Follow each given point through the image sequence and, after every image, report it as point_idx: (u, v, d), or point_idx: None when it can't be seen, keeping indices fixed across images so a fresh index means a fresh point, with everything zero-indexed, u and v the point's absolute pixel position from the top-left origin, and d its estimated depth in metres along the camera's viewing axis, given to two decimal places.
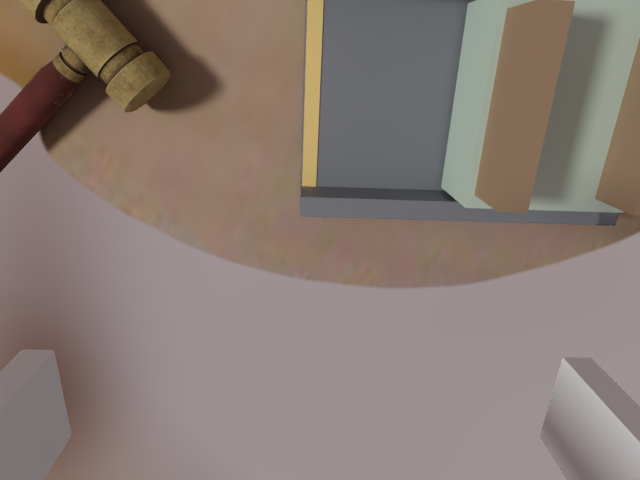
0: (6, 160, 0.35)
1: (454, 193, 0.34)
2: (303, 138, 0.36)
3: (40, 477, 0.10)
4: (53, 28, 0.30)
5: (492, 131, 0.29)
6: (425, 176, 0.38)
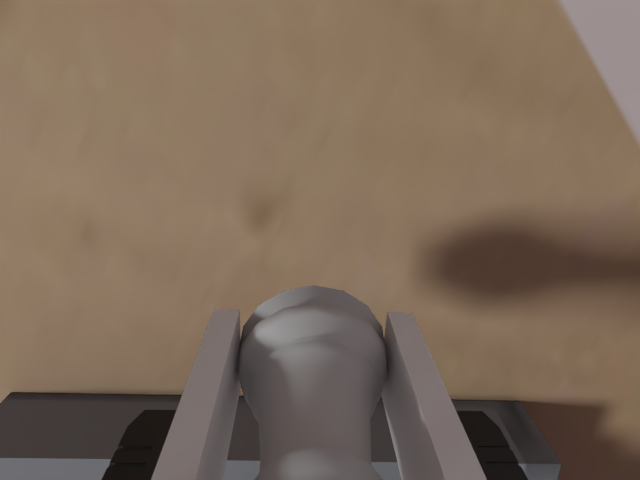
0: None
1: None
2: None
3: (232, 413, 0.13)
4: None
5: None
6: None
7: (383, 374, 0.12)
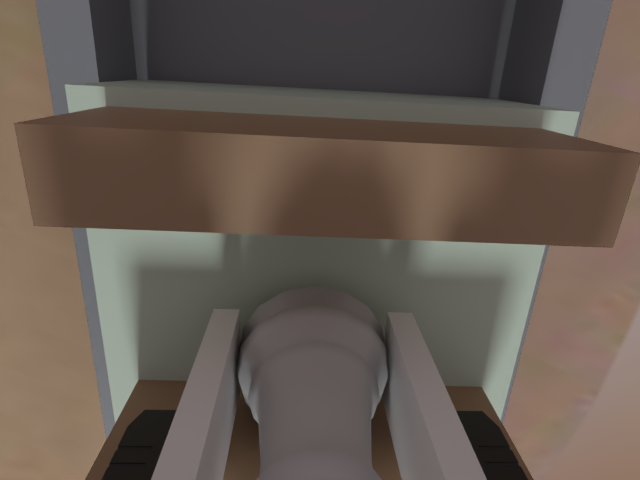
0: None
1: None
2: None
3: (232, 413, 0.13)
4: None
5: None
6: None
7: (384, 375, 0.12)
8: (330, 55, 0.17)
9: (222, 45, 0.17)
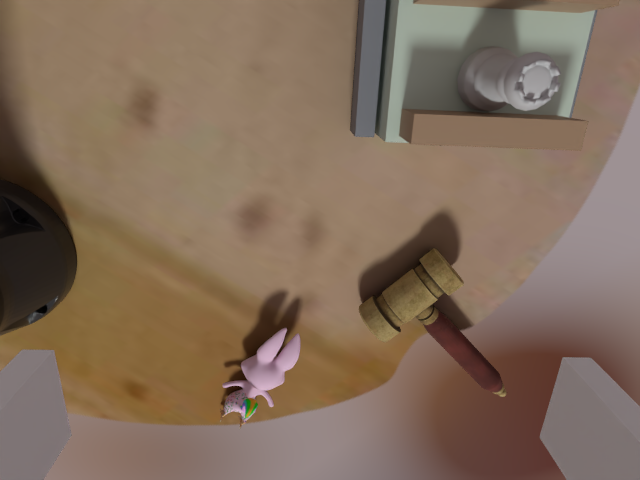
0: (485, 361, 0.48)
1: None
2: None
3: (40, 478, 0.10)
4: (407, 322, 0.44)
5: None
6: None
7: None
8: None
9: None
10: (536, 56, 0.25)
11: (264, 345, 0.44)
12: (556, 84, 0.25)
